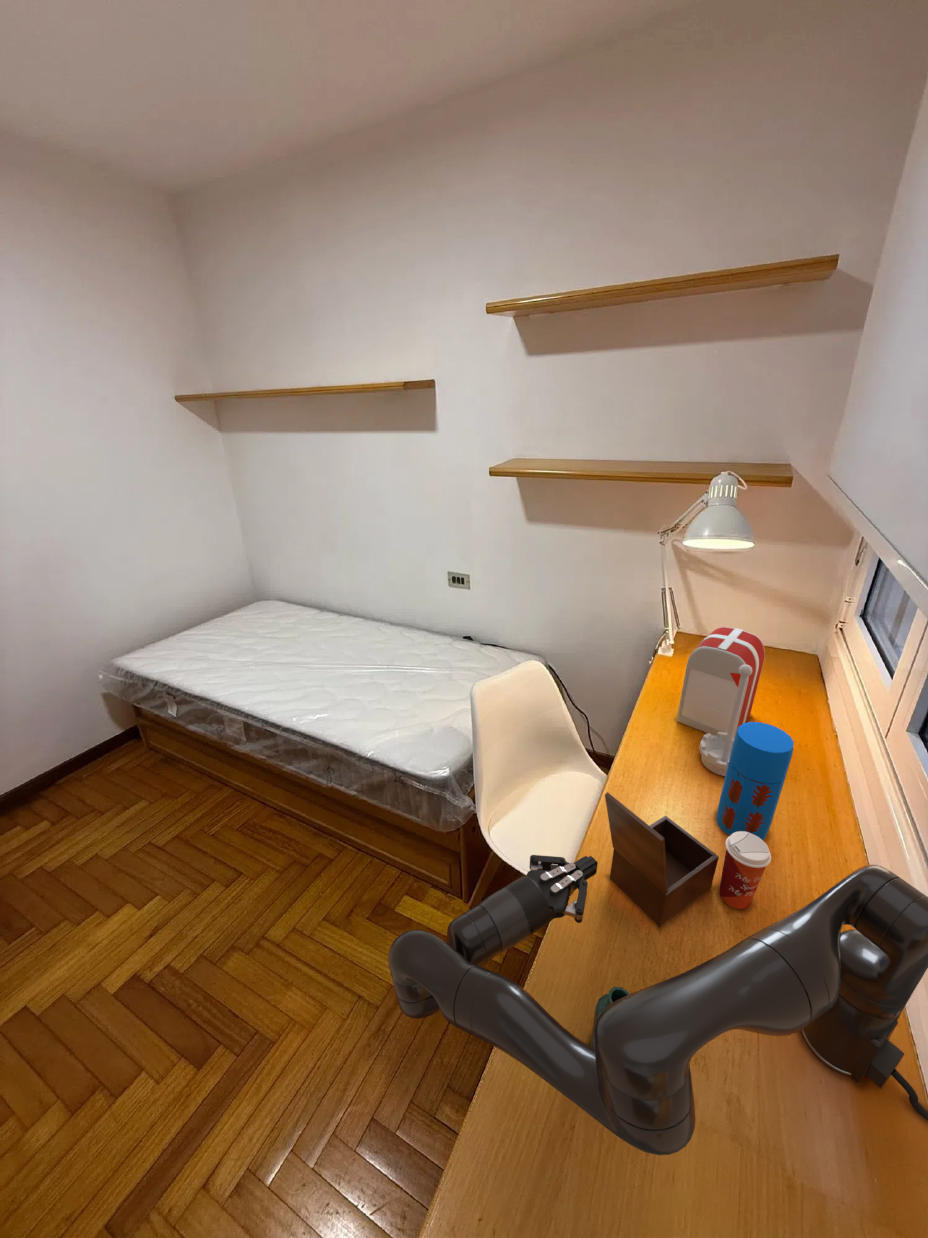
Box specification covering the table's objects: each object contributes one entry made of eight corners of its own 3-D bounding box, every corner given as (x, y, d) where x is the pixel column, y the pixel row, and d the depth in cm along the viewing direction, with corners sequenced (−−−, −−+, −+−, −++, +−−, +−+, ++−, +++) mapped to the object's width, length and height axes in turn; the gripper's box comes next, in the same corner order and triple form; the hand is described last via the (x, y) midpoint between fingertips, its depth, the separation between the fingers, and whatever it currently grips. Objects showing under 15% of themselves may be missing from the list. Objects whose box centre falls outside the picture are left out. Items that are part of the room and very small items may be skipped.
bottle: (639, 1065, 78) (652, 1005, 71) (610, 1092, 75) (621, 1033, 68) (609, 1027, 82) (619, 968, 76) (581, 1051, 79) (588, 992, 73)
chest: (659, 845, 114) (665, 815, 111) (711, 887, 104) (719, 856, 101) (609, 878, 107) (613, 847, 103) (659, 927, 97) (666, 895, 93)
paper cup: (732, 919, 98) (747, 867, 92) (704, 884, 105) (717, 834, 99) (766, 908, 100) (783, 856, 94) (737, 875, 107) (751, 825, 101)
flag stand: (762, 776, 133) (790, 676, 121) (715, 783, 131) (739, 681, 119) (730, 745, 145) (753, 650, 132) (687, 750, 143) (706, 655, 131)
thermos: (774, 847, 113) (803, 756, 103) (721, 840, 115) (744, 750, 105) (759, 810, 123) (784, 724, 112) (710, 804, 125) (730, 719, 114)
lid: (607, 791, 94) (604, 794, 94) (664, 838, 85) (661, 841, 84) (615, 844, 103) (612, 847, 103) (668, 892, 93) (665, 895, 93)
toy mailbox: (675, 720, 156) (689, 640, 144) (696, 695, 168) (710, 620, 156) (733, 743, 146) (754, 659, 134) (751, 715, 157) (771, 635, 146)
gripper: (488, 897, 86) (566, 851, 95) (538, 966, 76) (621, 907, 84) (488, 865, 83) (569, 821, 91) (541, 932, 73) (626, 875, 81)
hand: (594, 862), depth 88 cm, fingers closed
